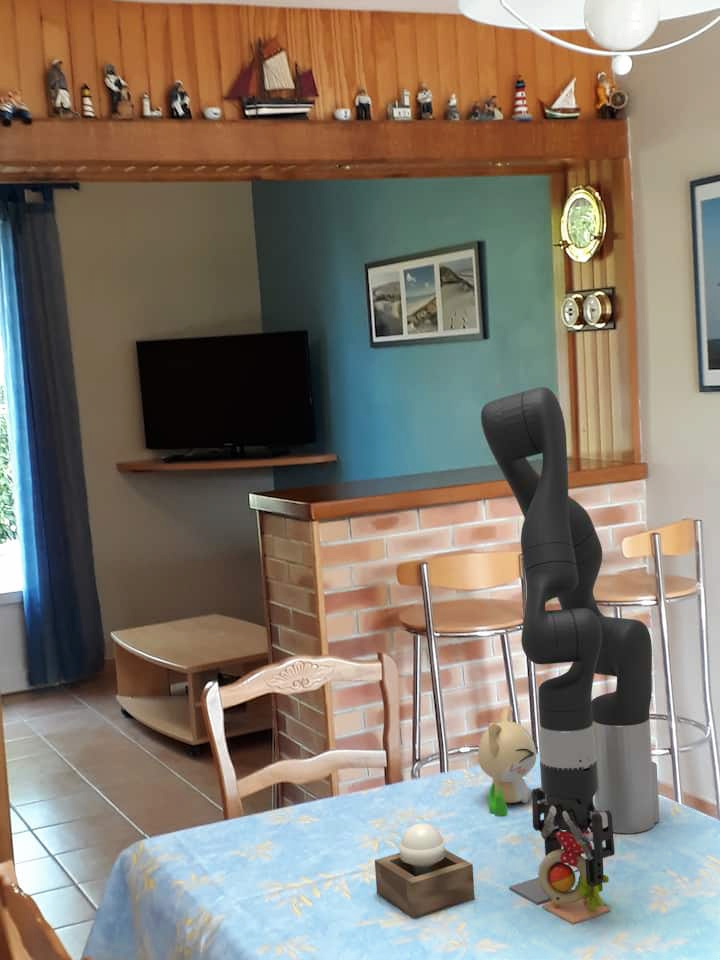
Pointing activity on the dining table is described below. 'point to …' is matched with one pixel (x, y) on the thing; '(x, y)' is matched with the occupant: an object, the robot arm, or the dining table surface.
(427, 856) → the dome button
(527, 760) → the kitten
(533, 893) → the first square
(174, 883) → the dining table surface
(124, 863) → the dining table surface
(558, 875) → the bird rattle
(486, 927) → the dining table surface
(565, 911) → the tile
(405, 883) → the button frame
